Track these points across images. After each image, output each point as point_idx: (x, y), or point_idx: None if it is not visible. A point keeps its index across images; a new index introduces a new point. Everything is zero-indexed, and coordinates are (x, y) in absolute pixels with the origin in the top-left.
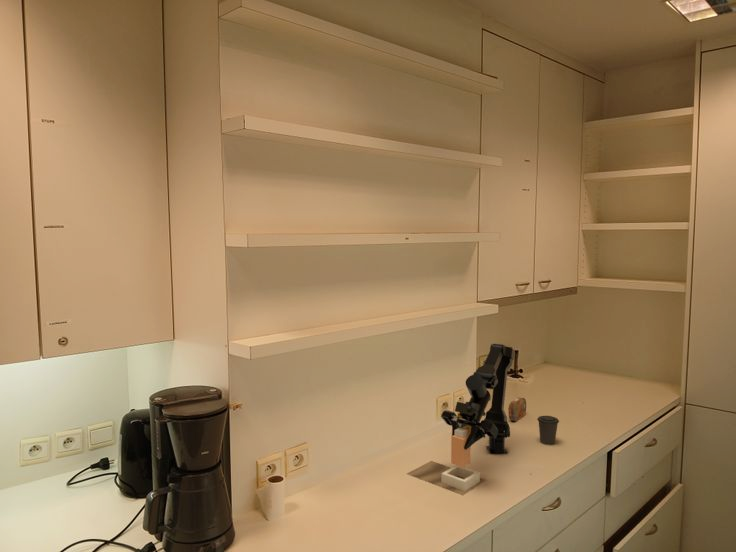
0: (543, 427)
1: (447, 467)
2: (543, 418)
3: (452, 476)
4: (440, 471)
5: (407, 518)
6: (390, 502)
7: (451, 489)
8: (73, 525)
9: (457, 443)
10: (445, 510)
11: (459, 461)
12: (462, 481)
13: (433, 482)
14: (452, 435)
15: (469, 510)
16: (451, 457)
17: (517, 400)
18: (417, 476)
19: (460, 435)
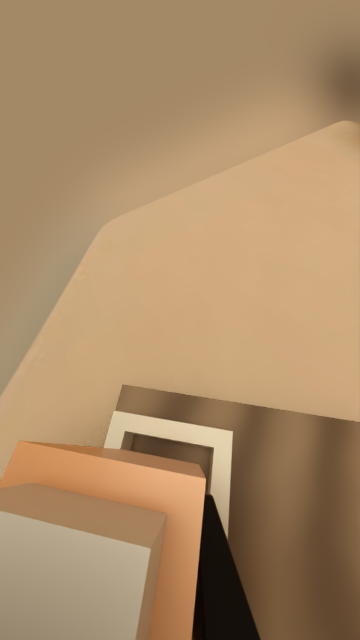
0: None
1: None
2: None
3: (178, 430)
4: (297, 558)
5: (205, 246)
6: (279, 273)
7: (170, 402)
8: None
9: (124, 457)
10: (148, 309)
11: (138, 453)
12: (126, 413)
13: (251, 417)
14: (244, 618)
15: (92, 340)
16: (197, 465)
17: None
18: (333, 429)
19: (43, 497)
